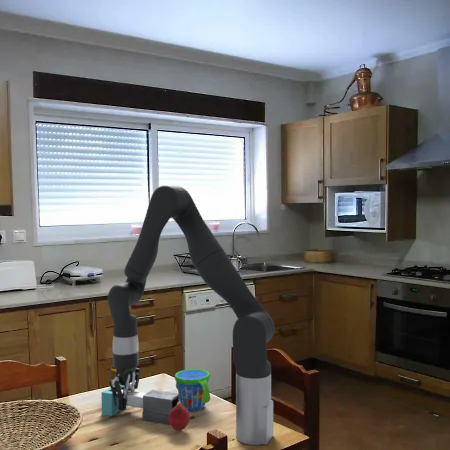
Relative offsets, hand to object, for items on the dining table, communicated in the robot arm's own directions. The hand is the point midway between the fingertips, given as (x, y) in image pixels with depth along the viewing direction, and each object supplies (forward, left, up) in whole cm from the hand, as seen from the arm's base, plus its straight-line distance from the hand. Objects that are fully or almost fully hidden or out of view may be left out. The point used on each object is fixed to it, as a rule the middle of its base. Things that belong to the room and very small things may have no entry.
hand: (126, 407), depth 150 cm
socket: (+4, 0, -2) cm, 5 cm away
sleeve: (-12, 0, -2) cm, 12 cm away
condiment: (+11, -11, -2) cm, 16 cm away
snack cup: (-16, -11, -2) cm, 20 cm away
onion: (-20, +6, -2) cm, 21 cm away
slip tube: (-3, 0, +1) cm, 3 cm away
